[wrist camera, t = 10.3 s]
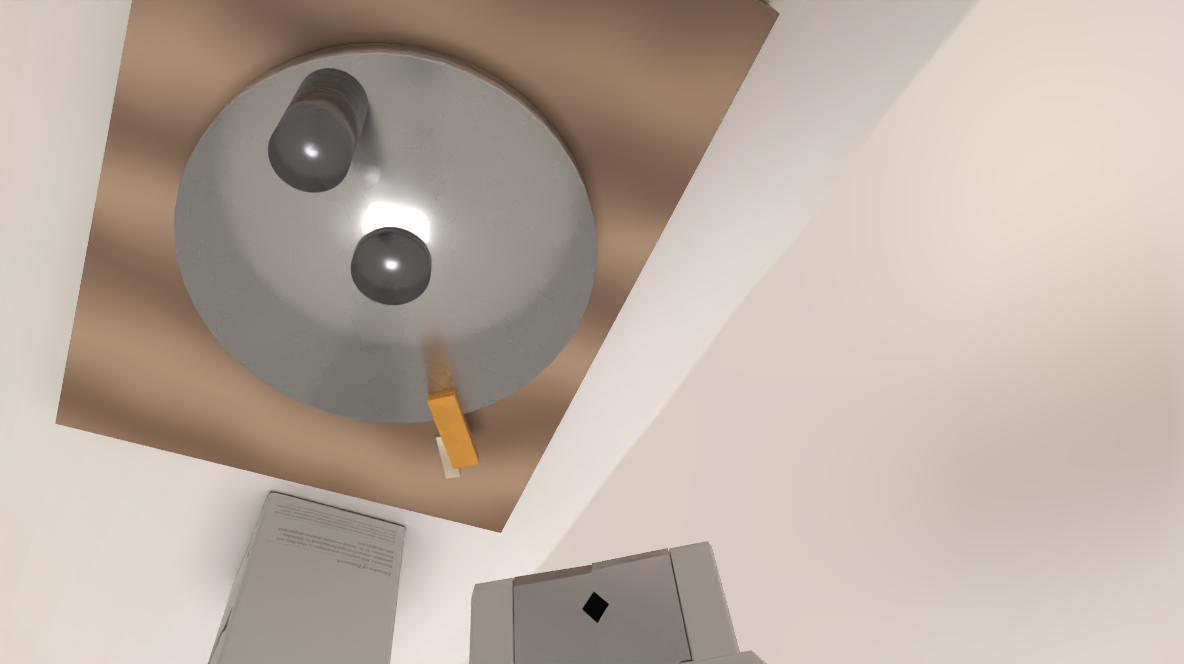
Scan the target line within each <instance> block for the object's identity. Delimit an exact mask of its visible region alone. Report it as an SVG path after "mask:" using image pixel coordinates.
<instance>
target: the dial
mask: <svg viewBox="0 0 1184 664" xmlns="http://www.w3.org/2000/svg"><path fill="white" fill-rule="evenodd" d="M174 238H175V246H176V253H177V260H178V264H179V267H180V271H181V274H182V277H183V281H184V284H185V286H186V289H187V291H188V293H189V295H190V297H191V300H192V302H193V304H194V306H195V308H196V310H197V311H198V313H199V315H200V316H201V318H202V319H203V321H204V323H205V324H206V326H207V327H208V329H209V330H210V331H211V332H212V334H213V335H214V336H215V337H216V339H217V340H218V341H219V342H220V344H221V345H222V346H223V347H224V348H225V349H226V350H227V351H228V352H229V353H230V354H231V355H232V356H233V357H234V358H235V359H236V360H237V361H238V362H239V363H240V364H241V365H242V366H244V367H245V368H246V369H248V370H249V371H250V372H251V373H253V374H254V375H255V376H257V377H258V378H259V379H261V380H262V381H263V382H265V383H267V384H268V385H270V386H272V387H273V388H275V389H277V390H278V391H280V392H282V393H283V394H285V395H287V396H289V397H292V398H294V399H296V400H298V401H300V402H302V403H304V404H306V405H309V406H312V407H315V408H318V409H321V410H323V411H326V412H329V413H333V414H337V415H341V416H345V417H349V418H353V419H360V420H367V421H374V422H389V423H412V422H427V421H433V420H434V421H435V423H436V426H437V428H438V431H439V434H440V436H441V439H442V441H443V444H444V447H445V449H446V452H447V454H448V457H449V459H450V462H451V465H452V467H453V469H458V468H462V467H467V466H471V465H476V464H479V454H478V451H477V449H476V446H475V443H474V440H473V437H472V435H471V432H470V429H469V426H468V424H467V421H466V418H465V415H464V414H465V413H469V412H473V411H475V410H478V409H480V408H483V407H485V406H488V405H490V404H493V403H495V402H497V401H499V400H501V399H503V398H505V397H506V396H508V395H510V394H512V393H514V392H516V391H517V390H518V389H520V388H521V387H523V386H524V385H526V384H527V383H528V382H530V381H531V380H533V379H534V378H535V377H536V376H537V375H538V374H540V373H541V372H542V371H543V370H544V369H545V368H546V367H547V366H548V365H550V364H551V362H552V361H553V360H554V359H555V358H556V357H557V355H558V354H559V353H560V352H561V351H562V350H563V348H564V347H565V346H566V344H567V343H568V341H569V340H570V338H571V337H572V335H573V334H574V332H575V330H576V329H577V327H578V325H579V323H580V321H581V318H582V316H583V314H584V312H585V310H586V308H587V304H588V301H589V298H590V295H591V291H592V288H593V283H594V276H595V270H596V233H595V227H594V220H593V214H592V210H591V206H590V201H589V198H588V194H587V191H586V188H585V184H584V181H583V178H582V175H581V173H580V171H579V169H578V166H577V164H576V162H575V160H574V158H573V156H572V154H571V152H570V150H569V149H568V147H567V146H566V144H565V143H564V141H563V139H562V138H561V136H560V135H559V133H558V132H557V130H556V129H555V128H554V127H553V126H552V125H551V123H550V122H549V121H548V120H547V119H546V117H545V116H544V115H543V114H542V113H541V112H540V111H539V110H538V109H537V108H536V107H535V106H534V105H533V104H532V103H531V102H529V101H528V100H527V99H526V98H525V97H524V96H523V95H522V94H521V93H519V92H518V91H517V90H515V89H514V88H512V87H511V86H509V85H508V84H507V83H505V82H504V81H502V80H501V79H499V78H498V77H497V76H495V75H493V74H491V73H489V72H487V71H485V70H483V69H481V68H479V67H477V66H476V65H474V64H472V63H469V62H467V61H464V60H461V59H459V58H456V57H453V56H451V55H448V54H445V53H442V52H438V51H434V50H430V49H425V48H421V47H417V46H411V45H401V44H392V43H354V44H347V45H341V46H335V47H329V48H323V49H320V50H317V51H314V52H311V53H307V54H304V55H301V56H298V57H295V58H293V59H291V60H289V61H287V62H284V63H282V64H280V65H278V66H276V67H274V68H272V69H270V70H268V71H267V72H266V73H264V74H263V75H261V76H260V77H258V78H257V79H255V80H254V81H252V82H251V83H249V84H248V85H247V86H245V87H244V88H243V89H242V90H241V91H240V92H239V93H238V94H237V95H236V96H235V97H233V98H232V99H231V100H230V101H229V102H228V103H227V104H226V106H225V107H224V108H223V109H222V111H221V112H220V113H219V115H218V116H217V117H216V118H215V120H214V121H213V122H212V123H211V125H210V126H209V127H208V129H207V130H206V131H205V133H204V134H203V135H202V137H201V138H200V140H199V142H198V143H197V145H196V147H195V149H194V151H193V152H192V154H191V156H190V158H189V160H188V162H187V164H186V167H185V170H184V173H183V176H182V178H181V181H180V184H179V189H178V194H177V200H176V205H175V214H174Z"/></svg>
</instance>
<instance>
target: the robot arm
mask: <svg viewBox="0 0 1184 664" xmlns="http://www.w3.org/2000/svg"><path fill="white" fill-rule="evenodd" d="M469 664H767V663H766V662H764V661H763V660H762V659H761V658H760V657H759V656H758V655H756V654H755V653H754V652H753V651H745V652H740V651H739V647H738V644H737V640H736V636H735V633H734V629H733V625H732V621H731V618H730V614H729V610H728V606H727V602H726V598H725V595H724V591H723V588H722V584H721V580H720V576H719V572H718V569H717V565H716V561H715V558H714V553H713V550H712V547H711V545H710V544H709V542H708V541H707V542H701V543H696V544H691V545H686V546H680V547H675V548H670V549H669V551H668V548H667V549H662V550H657V551H652V552H647V553H642V554H637V555H632V556H627V557H622V558H617V559H612V560H607V561H602V562H597V563H592V565H588V566H582V567H575V568H569V569H563V570H556V571H550V572H545V573H538V574H532V575H525V576H519V577H515V578H509V579H503V580H497V581H492V582H486V583H480V584H475V587H474V590H473V593H472V599H471V630H470V661H469Z"/></svg>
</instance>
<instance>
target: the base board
mask: <svg viewBox="0 0 1184 664" xmlns="http://www.w3.org/2000/svg"><path fill="white" fill-rule="evenodd" d="M778 16H779V13H778V12H777V11H776V10H774V9H773V8H772V7H771V6H770V5H769V4H767V3H765V2H763V1H760V0H132V4H131V10H130V15H129V21H128V26H127V32H126V37H125V43H124V49H123V54H122V60H121V65H120V71H119V76H118V82H117V87H116V93H115V98H114V104H113V109H112V115H111V120H110V126H109V131H108V137H107V142H106V148H105V153H104V159H103V164H102V170H101V175H100V181H99V186H98V192H97V197H96V203H95V208H94V214H93V219H92V225H91V230H90V236H89V241H88V247H87V252H86V258H85V263H84V269H83V274H82V280H81V285H80V291H79V296H78V302H77V307H76V313H75V318H74V324H73V329H72V335H71V340H70V346H69V351H68V357H67V362H66V368H65V373H64V379H63V385H62V390H61V396H60V401H59V407H58V412H57V418H56V424H60V425H64V426H68V427H72V428H76V429H80V430H84V431H88V432H92V433H96V434H100V435H104V436H108V437H113V438H117V439H121V440H125V441H129V442H133V443H137V444H141V445H145V446H149V447H153V448H157V449H161V450H165V451H170V452H174V453H178V454H182V455H186V456H190V457H194V458H198V459H202V460H206V461H210V462H214V463H218V464H223V465H227V466H231V467H235V468H239V469H243V470H247V471H251V472H255V473H259V474H263V475H267V476H271V477H275V478H280V479H284V480H288V481H292V482H296V483H300V484H304V485H308V486H312V487H316V488H320V489H324V490H328V491H333V492H337V493H341V494H345V495H349V496H353V497H357V498H361V499H365V500H369V501H373V502H377V503H381V504H385V505H390V506H394V507H398V508H402V509H406V510H410V511H414V512H418V513H422V514H426V515H430V516H434V517H438V518H442V519H447V520H451V521H455V522H459V523H463V524H467V525H471V526H475V527H479V528H483V529H487V530H491V531H495V532H500V533H501V532H502V530H503V528H504V526H505V524H506V522H507V520H508V519H509V517H510V515H511V513H512V511H513V509H514V507H515V506H516V504H517V502H518V500H519V498H520V496H521V494H522V492H523V491H524V489H525V487H526V485H527V483H528V481H529V479H530V478H531V476H532V474H533V472H534V470H535V468H536V466H537V465H538V463H539V461H540V459H541V457H542V455H543V453H544V451H545V450H546V448H547V446H548V444H549V442H550V440H551V438H552V437H553V435H554V433H555V431H556V429H557V427H558V425H559V424H560V422H561V420H562V418H563V416H564V414H565V412H566V410H567V409H568V407H569V405H570V403H571V401H572V399H573V397H574V396H575V394H576V392H577V390H578V388H579V386H580V384H581V383H582V381H583V379H584V377H585V375H586V373H587V371H588V370H589V368H590V366H591V364H592V362H593V360H594V358H595V356H596V355H597V353H598V351H599V349H600V347H601V345H602V343H603V342H604V340H605V338H606V336H607V334H608V332H609V330H610V329H611V327H612V325H613V323H614V321H615V319H616V317H617V315H618V314H619V312H620V310H621V308H622V306H623V304H624V302H625V301H626V299H627V297H628V295H629V293H630V291H631V289H632V288H633V286H634V284H635V282H636V280H637V278H638V276H639V274H640V273H641V271H642V269H643V267H644V265H645V263H646V261H647V260H648V258H649V256H650V254H651V252H652V250H653V248H654V247H655V245H656V243H657V241H658V239H659V237H660V235H661V234H662V232H663V230H664V228H665V226H666V224H667V222H668V220H669V219H670V217H671V215H672V213H673V211H674V209H675V207H676V206H677V204H678V202H679V200H680V198H681V196H682V194H683V193H684V191H685V189H686V187H687V185H688V183H689V181H690V179H691V178H692V176H693V174H694V172H695V170H696V168H697V166H698V165H699V163H700V161H701V159H702V157H703V155H704V153H705V152H706V150H707V148H708V146H709V144H710V142H711V140H712V138H713V137H714V135H715V133H716V131H717V129H718V127H719V125H720V124H721V122H722V120H723V118H724V116H725V114H726V112H727V111H728V109H729V107H730V105H731V103H732V101H733V99H734V97H735V96H736V94H737V92H738V90H739V88H740V86H741V84H742V83H743V81H744V79H745V77H746V75H747V73H748V71H749V70H750V68H751V66H752V64H753V62H754V60H755V58H756V57H757V55H758V53H759V51H760V49H761V47H762V45H763V43H764V42H765V40H766V38H767V36H768V34H769V32H770V30H771V29H772V27H773V25H774V23H775V21H776V19H777V17H778ZM354 43H392V44H401V45H411V46H417V47H421V48H425V49H430V50H434V51H438V52H442V53H445V54H448V55H451V56H453V57H456V58H459V59H461V60H464V61H467V62H469V63H472V64H474V65H476V66H477V67H479V68H481V69H483V70H485V71H487V72H489V73H491V74H493V75H495V76H497V77H498V78H499V79H501V80H502V81H504V82H505V83H507V84H508V85H509V86H511V87H512V88H514V89H515V90H517V91H518V92H519V93H521V94H522V95H523V96H524V97H525V98H526V99H527V100H528V101H529V102H531V103H532V104H533V105H534V106H535V107H536V108H537V109H538V110H539V111H540V112H541V113H542V114H543V115H544V116H545V117H546V119H547V120H548V121H549V122H550V123H551V125H552V126H553V127H554V128H555V129H556V130H557V132H558V133H559V135H560V136H561V138H562V139H563V141H564V143H565V144H566V146H567V147H568V149H569V150H570V152H571V154H572V156H573V158H574V160H575V162H576V164H577V166H578V169H579V171H580V173H581V175H582V178H583V181H584V184H585V188H586V191H587V194H588V198H589V201H590V206H591V210H592V214H593V220H594V227H595V233H596V270H595V276H594V283H593V288H592V291H591V295H590V298H589V301H588V304H587V308H586V310H585V312H584V314H583V316H582V318H581V321H580V323H579V325H578V327H577V329H576V330H575V332H574V334H573V335H572V337H571V338H570V340H569V341H568V343H567V344H566V346H565V347H564V348H563V350H562V351H561V352H560V353H559V354H558V355H557V357H556V358H555V359H554V360H553V361H552V362H551V364H550V365H548V366H547V367H546V368H545V369H544V370H543V371H542V372H541V373H540V374H538V375H537V376H536V377H535V378H534V379H533V380H531V381H530V382H528V383H527V384H526V385H524V386H523V387H521V388H520V389H518V390H517V391H516V392H514V393H512V394H510V395H508V396H506V397H505V398H503V399H501V400H499V401H497V402H495V403H493V404H490V405H488V406H485V407H483V408H480V409H478V410H475V411H473V412H469V413H465V414H464V415H465V418H466V421H467V424H468V426H469V429H470V432H471V435H472V437H473V440H474V443H475V446H476V449H477V451H478V454H479V464H476V465H471V466H467V467H462V468H458V469H453V467H452V465H451V462H450V459H449V457H448V454H447V452H446V449H445V447H444V444H443V441H442V439H441V436H440V434H439V431H438V428H437V426H436V423H435V421H434V420H433V421H427V422H412V423H389V422H374V421H367V420H360V419H353V418H349V417H345V416H341V415H337V414H333V413H329V412H326V411H323V410H321V409H318V408H315V407H312V406H309V405H306V404H304V403H302V402H300V401H298V400H296V399H294V398H292V397H289V396H287V395H285V394H283V393H282V392H280V391H278V390H277V389H275V388H273V387H272V386H270V385H268V384H267V383H265V382H263V381H262V380H261V379H259V378H258V377H257V376H255V375H254V374H253V373H251V372H250V371H249V370H248V369H246V368H245V367H244V366H242V365H241V364H240V363H239V362H238V361H237V360H236V359H235V358H234V357H233V356H232V355H231V354H230V353H229V352H228V351H227V350H226V349H225V348H224V347H223V346H222V345H221V344H220V342H219V341H218V340H217V339H216V337H215V336H214V335H213V334H212V332H211V331H210V330H209V329H208V327H207V326H206V324H205V323H204V321H203V319H202V318H201V316H200V315H199V313H198V311H197V310H196V308H195V306H194V304H193V302H192V300H191V297H190V295H189V293H188V291H187V289H186V286H185V284H184V281H183V277H182V274H181V271H180V267H179V264H178V260H177V253H176V246H175V238H174V214H175V205H176V200H177V194H178V189H179V184H180V181H181V178H182V176H183V173H184V170H185V167H186V164H187V162H188V160H189V158H190V156H191V154H192V152H193V151H194V149H195V147H196V145H197V143H198V142H199V140H200V138H201V137H202V135H203V134H204V133H205V131H206V130H207V129H208V127H209V126H210V125H211V123H212V122H213V121H214V120H215V118H216V117H217V116H218V115H219V113H220V112H221V111H222V109H223V108H224V107H225V106H226V104H227V103H228V102H229V101H230V100H231V99H232V98H233V97H235V96H236V95H237V94H238V93H239V92H240V91H241V90H242V89H243V88H244V87H245V86H247V85H248V84H249V83H251V82H252V81H254V80H255V79H257V78H258V77H260V76H261V75H263V74H264V73H266V72H267V71H268V70H270V69H272V68H274V67H276V66H278V65H280V64H282V63H284V62H287V61H289V60H291V59H293V58H295V57H298V56H301V55H304V54H307V53H311V52H314V51H317V50H320V49H323V48H329V47H335V46H341V45H347V44H354Z"/></svg>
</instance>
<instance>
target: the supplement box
mask: <svg viewBox="0 0 1184 664" xmlns="http://www.w3.org/2000/svg"><path fill="white" fill-rule="evenodd" d="M404 534H405V528H404V527H402V526H399V525H395V524H392V523H388V522H385V521H381V520H377V519H373V518H370V517H366V516H362V515H359V514H355V513H351V512H347V511H343V510H340V509H337V508H333V507H329V506H325V505H321V504H317V503H314V502H310V501H306V500H302V499H298V498H295V497H291V496H287V495H282V494H278V493H270V494H269V495H268V496H267V499H266V502H265V505H264V508H263V511H262V513H261V516H260V519H259V522H258V524H257V527H256V529H255V532H254V535H253V537H252V540H251V542H250V545H249V547H248V550H247V552H246V555H245V557H244V560H243V562H242V565H241V567H240V570H239V573H238V575H237V577H236V579H235V581H234V583H233V586H232V589H231V593H230V596H229V599H228V602H227V605H226V609H225V612H224V615H223V618H222V621H221V624H220V627H219V630H218V634H217V637H216V640H215V643H214V646H213V649H212V652H211V656H210V659H209V662H208V664H390V658H391V649H392V640H393V632H394V623H395V614H396V605H397V596H398V587H399V578H400V570H401V562H402V552H403V543H404Z"/></svg>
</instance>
